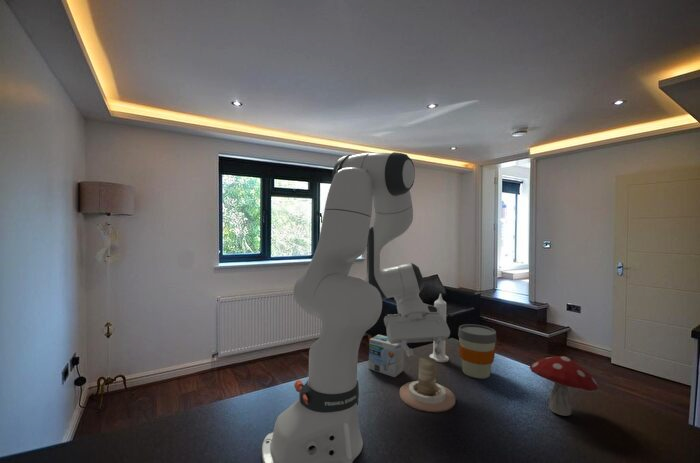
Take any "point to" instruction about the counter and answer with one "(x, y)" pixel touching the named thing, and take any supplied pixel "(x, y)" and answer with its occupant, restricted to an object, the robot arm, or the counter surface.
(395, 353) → the light bulb box
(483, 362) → the reusable coffee cup
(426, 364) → the beige cylinder
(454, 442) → the counter surface
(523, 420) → the counter surface
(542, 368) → the decorative mushroom
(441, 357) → the candle
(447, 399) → the collar dish
